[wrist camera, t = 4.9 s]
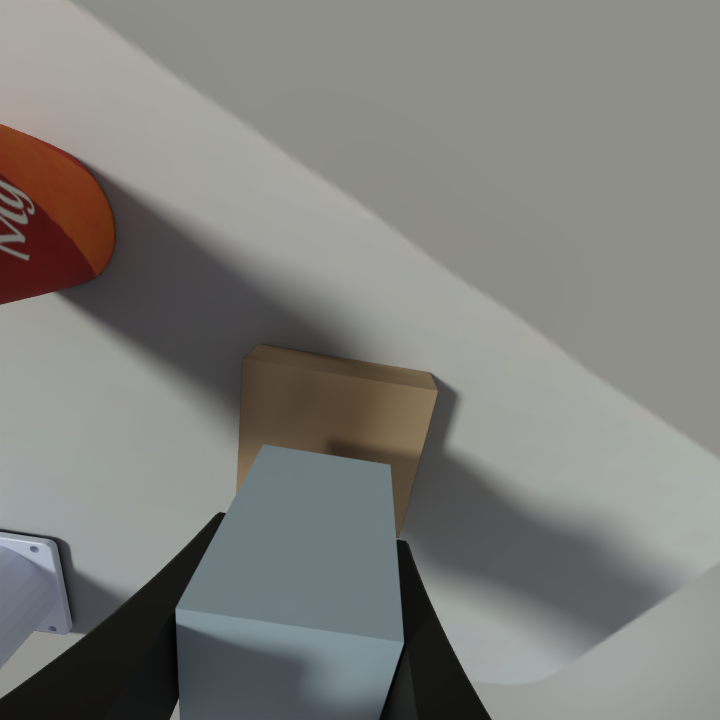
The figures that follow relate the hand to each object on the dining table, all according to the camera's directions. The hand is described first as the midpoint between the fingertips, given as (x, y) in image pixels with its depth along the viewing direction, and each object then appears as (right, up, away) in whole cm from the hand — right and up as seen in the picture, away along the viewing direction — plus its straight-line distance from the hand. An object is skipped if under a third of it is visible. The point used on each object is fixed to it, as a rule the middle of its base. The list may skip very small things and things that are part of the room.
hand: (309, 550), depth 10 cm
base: (0, +2, +6) cm, 7 cm away
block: (0, +1, +2) cm, 2 cm away
